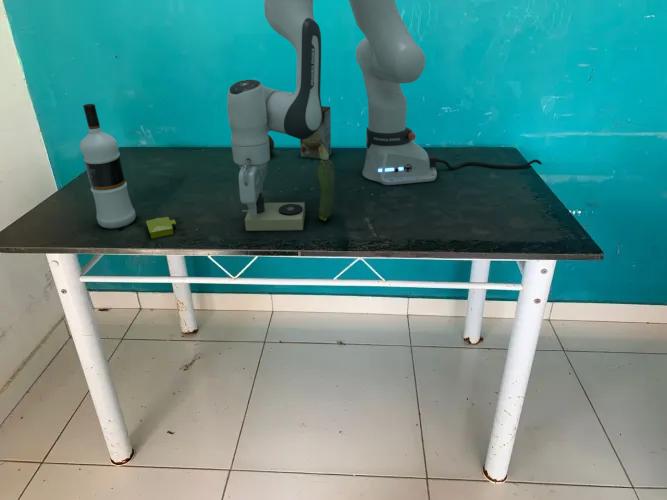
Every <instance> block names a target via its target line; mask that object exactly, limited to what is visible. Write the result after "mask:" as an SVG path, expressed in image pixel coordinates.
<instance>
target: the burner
mask: <svg viewBox="0 0 667 500" xmlns="http://www.w3.org/2000/svg"><path fill="white" fill-rule="evenodd" d="M302 211H303V208H302V206H300V205H297V204H286V205H283V206H281V207H280V208H279V213H280V214H282V215H287V216H292V215H297V214H300V213H301V212H302Z"/></svg>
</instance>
